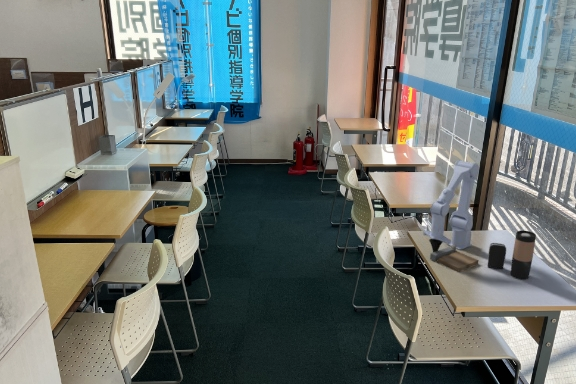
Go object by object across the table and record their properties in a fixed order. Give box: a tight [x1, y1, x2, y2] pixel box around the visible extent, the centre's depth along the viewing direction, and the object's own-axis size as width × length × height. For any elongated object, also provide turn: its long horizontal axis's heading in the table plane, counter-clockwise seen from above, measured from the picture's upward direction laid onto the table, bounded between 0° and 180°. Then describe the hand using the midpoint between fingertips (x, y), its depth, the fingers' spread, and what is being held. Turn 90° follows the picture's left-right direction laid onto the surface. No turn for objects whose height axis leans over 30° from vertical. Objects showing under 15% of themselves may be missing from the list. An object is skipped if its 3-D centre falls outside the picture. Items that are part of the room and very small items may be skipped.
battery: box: [486, 242, 507, 270], centre depth 201 cm, size 7×4×11 cm, turn 69°
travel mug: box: [510, 229, 537, 280], centre depth 191 cm, size 8×8×20 cm
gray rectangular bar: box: [429, 246, 454, 262], centre depth 212 cm, size 13×3×3 cm, turn 121°
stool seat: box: [436, 245, 479, 273], centre depth 207 cm, size 15×15×4 cm
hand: (435, 253), depth 213 cm, fingers closed
